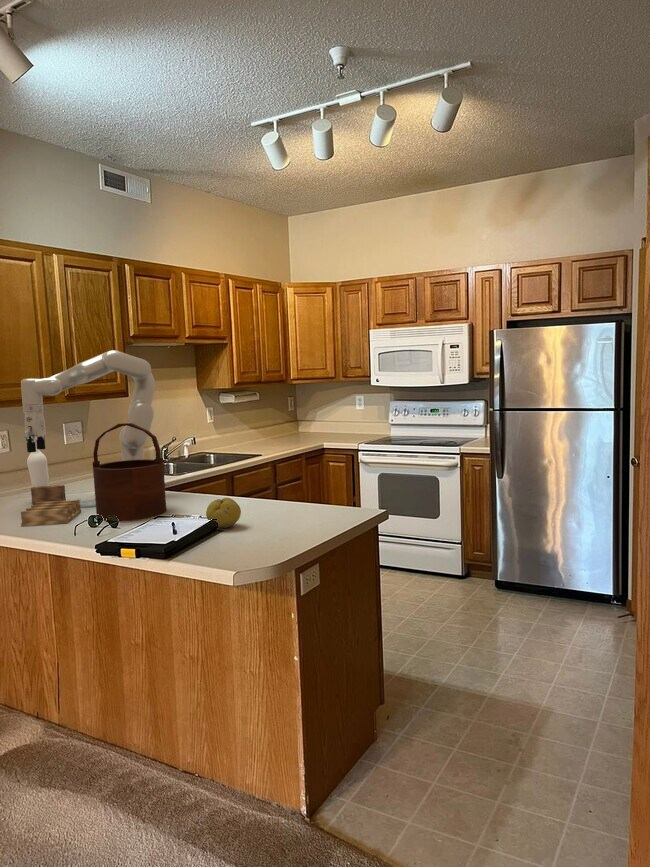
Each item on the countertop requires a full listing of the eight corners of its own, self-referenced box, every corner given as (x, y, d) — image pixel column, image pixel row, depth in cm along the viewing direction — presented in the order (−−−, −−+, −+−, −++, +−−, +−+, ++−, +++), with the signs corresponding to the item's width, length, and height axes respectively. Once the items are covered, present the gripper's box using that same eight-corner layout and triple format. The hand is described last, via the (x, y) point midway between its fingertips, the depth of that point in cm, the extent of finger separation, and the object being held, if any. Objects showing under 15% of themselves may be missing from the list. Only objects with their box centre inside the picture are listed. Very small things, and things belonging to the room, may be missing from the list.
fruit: (222, 522, 217) (220, 494, 216) (248, 525, 211) (247, 496, 210) (200, 529, 207) (199, 500, 206) (228, 533, 201) (226, 503, 200)
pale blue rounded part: (109, 501, 263) (109, 498, 263) (102, 507, 251) (102, 504, 251) (80, 503, 261) (80, 500, 261) (72, 509, 250) (71, 506, 249)
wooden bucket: (106, 508, 248) (100, 422, 245) (171, 504, 251) (166, 419, 247) (88, 523, 223) (80, 427, 219) (160, 519, 225) (154, 424, 221)
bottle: (45, 502, 261) (34, 433, 258) (29, 504, 262) (17, 434, 260) (57, 498, 268) (46, 430, 266) (41, 499, 270) (30, 432, 267)
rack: (81, 512, 241) (80, 499, 241) (67, 523, 223) (66, 509, 223) (38, 515, 240) (37, 502, 239) (21, 526, 222) (20, 512, 221)
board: (66, 509, 249) (64, 485, 248) (64, 510, 246) (62, 486, 245) (35, 511, 247) (33, 486, 246) (33, 512, 245) (30, 488, 244)
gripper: (34, 409, 241) (37, 453, 242) (50, 407, 258) (53, 447, 259) (14, 410, 240) (18, 453, 242) (32, 408, 257) (35, 448, 259)
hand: (36, 450), depth 251 cm, fingers open, 9 cm apart
